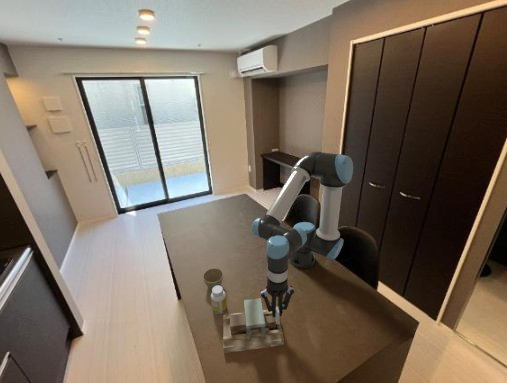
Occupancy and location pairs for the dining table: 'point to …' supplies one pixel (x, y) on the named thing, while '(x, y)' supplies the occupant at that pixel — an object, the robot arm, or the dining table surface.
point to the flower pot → (213, 277)
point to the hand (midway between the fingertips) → (276, 321)
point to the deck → (252, 337)
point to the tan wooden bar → (240, 323)
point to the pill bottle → (218, 300)
